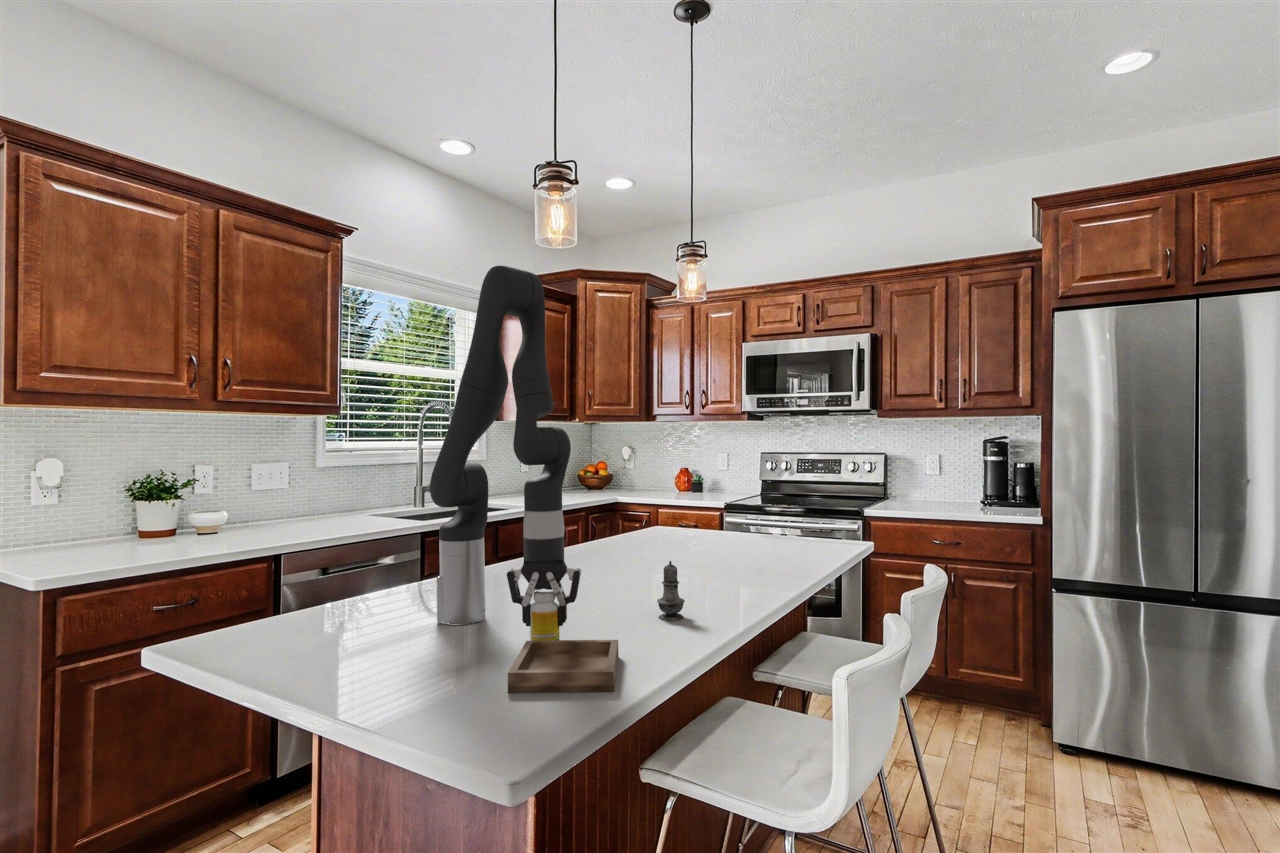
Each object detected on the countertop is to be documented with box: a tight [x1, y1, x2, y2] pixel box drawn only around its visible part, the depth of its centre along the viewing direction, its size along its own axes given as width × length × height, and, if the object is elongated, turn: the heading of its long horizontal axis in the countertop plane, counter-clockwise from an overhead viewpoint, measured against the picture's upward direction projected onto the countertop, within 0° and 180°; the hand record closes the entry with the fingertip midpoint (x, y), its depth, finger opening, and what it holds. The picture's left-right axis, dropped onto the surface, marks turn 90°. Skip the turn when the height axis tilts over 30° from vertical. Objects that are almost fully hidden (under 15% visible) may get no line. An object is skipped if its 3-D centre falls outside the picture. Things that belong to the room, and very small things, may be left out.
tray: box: [507, 639, 619, 694], centre depth 111 cm, size 16×16×3 cm
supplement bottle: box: [529, 589, 560, 641], centre depth 127 cm, size 5×5×10 cm
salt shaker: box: [656, 560, 686, 622], centre depth 143 cm, size 6×6×12 cm
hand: (545, 624), depth 127 cm, fingers closed on supplement bottle, 5 cm apart
